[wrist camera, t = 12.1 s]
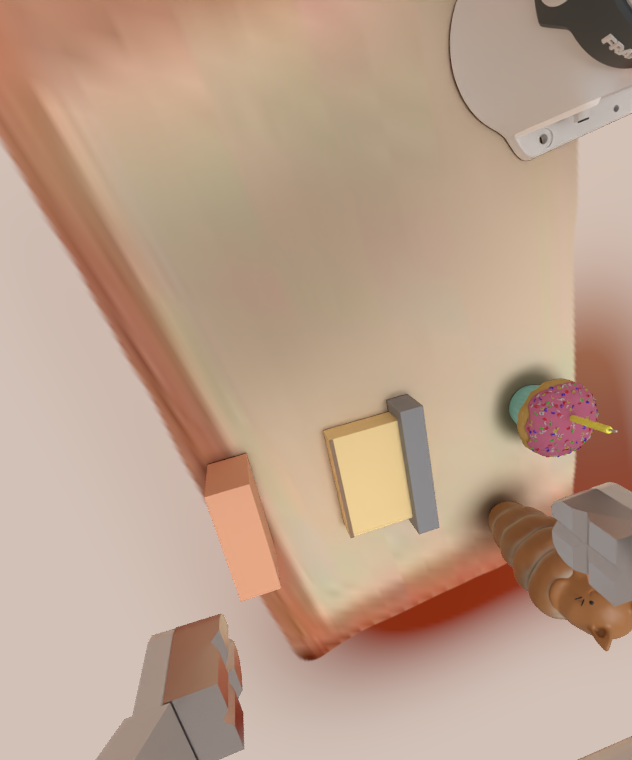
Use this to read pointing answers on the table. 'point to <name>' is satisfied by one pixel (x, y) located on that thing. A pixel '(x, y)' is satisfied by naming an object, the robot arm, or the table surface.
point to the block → (242, 526)
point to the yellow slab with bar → (384, 469)
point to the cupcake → (555, 416)
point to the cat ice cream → (554, 574)
